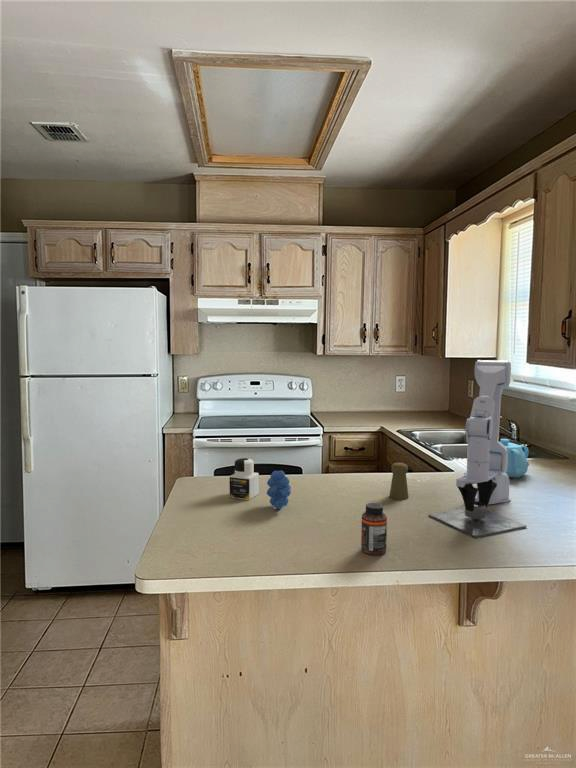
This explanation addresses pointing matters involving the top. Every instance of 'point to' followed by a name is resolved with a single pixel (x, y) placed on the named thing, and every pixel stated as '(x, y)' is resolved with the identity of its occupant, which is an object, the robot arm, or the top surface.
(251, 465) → the medicine bottle
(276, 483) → the grapes
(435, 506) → the top surface
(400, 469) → the cork
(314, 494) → the top surface
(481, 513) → the ring
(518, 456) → the decorative pot
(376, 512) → the supplement bottle
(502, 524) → the stand
